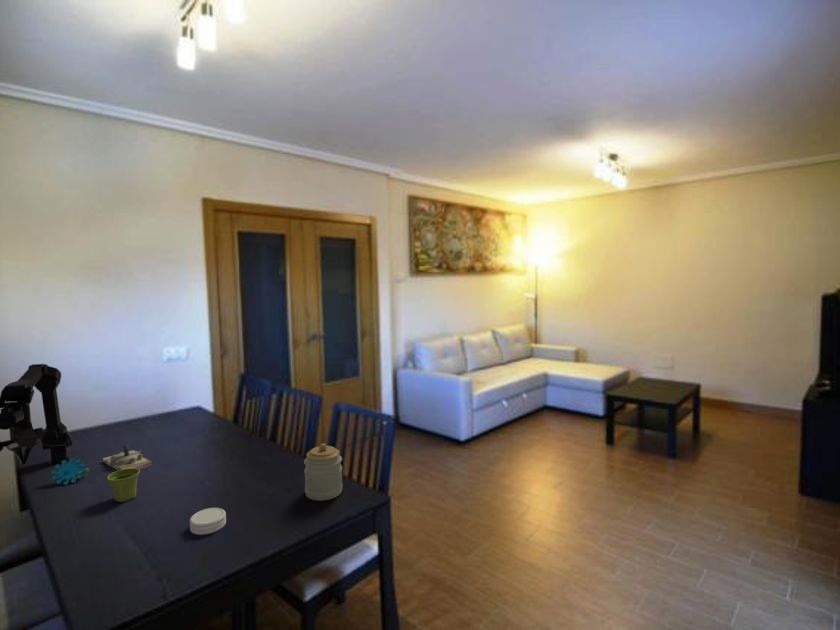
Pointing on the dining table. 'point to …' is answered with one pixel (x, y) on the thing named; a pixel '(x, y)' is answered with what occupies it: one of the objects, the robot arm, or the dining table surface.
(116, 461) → the gear board
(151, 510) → the dining table surface
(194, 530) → the white round flat block
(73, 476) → the gear
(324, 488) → the jar
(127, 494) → the plant pot
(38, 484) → the dining table surface
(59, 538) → the dining table surface
